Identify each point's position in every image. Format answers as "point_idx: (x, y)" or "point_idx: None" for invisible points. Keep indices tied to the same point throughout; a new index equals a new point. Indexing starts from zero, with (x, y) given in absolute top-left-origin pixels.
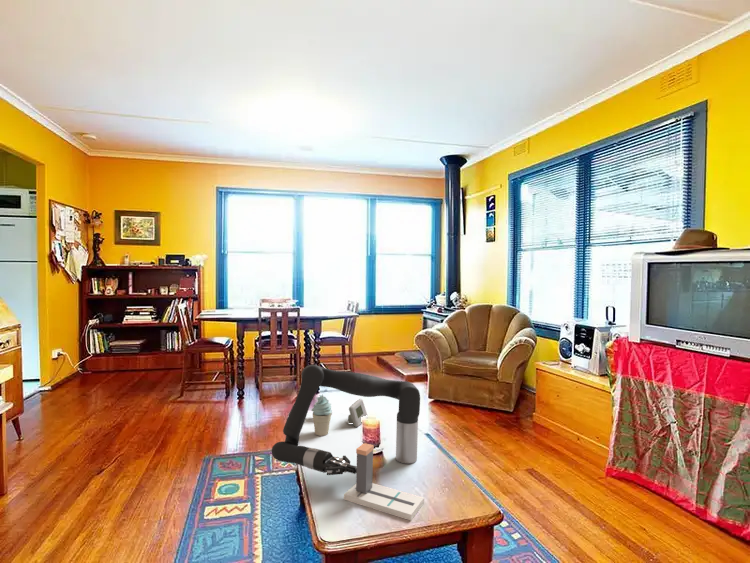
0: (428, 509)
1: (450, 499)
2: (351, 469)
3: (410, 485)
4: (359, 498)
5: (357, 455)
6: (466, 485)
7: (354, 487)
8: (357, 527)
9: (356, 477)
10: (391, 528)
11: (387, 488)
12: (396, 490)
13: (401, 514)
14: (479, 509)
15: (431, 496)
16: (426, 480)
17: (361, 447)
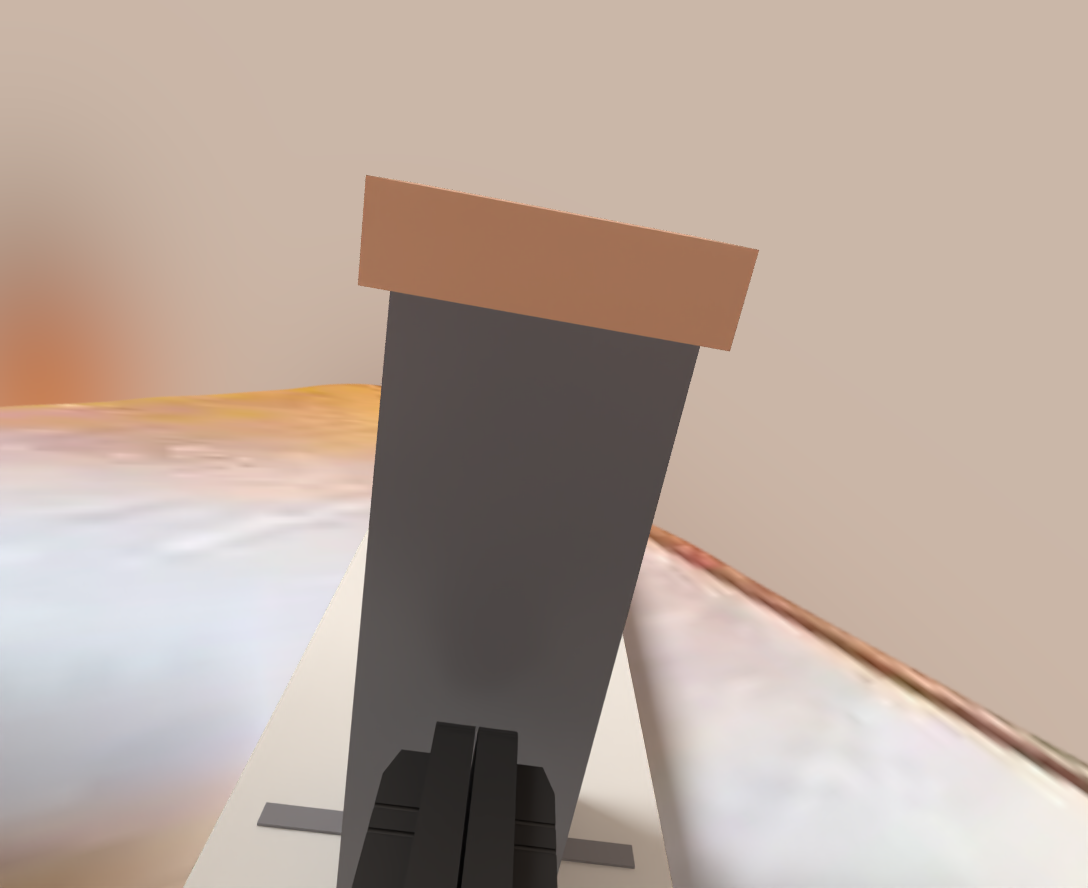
0: None
1: (310, 445)
2: (554, 814)
3: (139, 572)
4: (653, 819)
5: (681, 396)
6: (140, 403)
7: None
8: (902, 755)
9: (587, 762)
10: (721, 597)
11: (334, 640)
12: (349, 586)
13: None
14: (368, 401)
15: (297, 490)
16: (48, 507)
17: (622, 223)
